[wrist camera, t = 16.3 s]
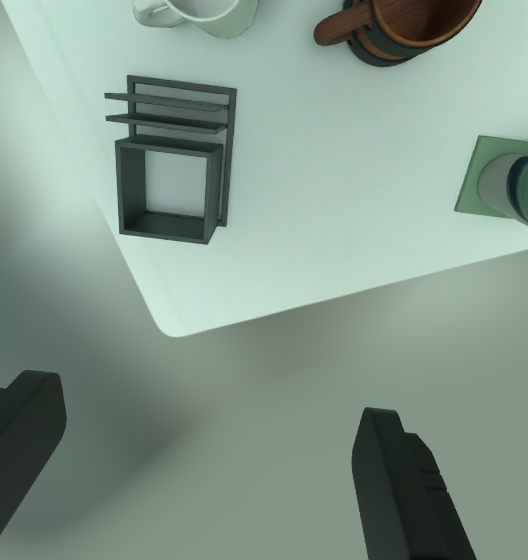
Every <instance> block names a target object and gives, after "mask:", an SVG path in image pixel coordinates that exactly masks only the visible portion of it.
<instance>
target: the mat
mask: <svg viewBox="0 0 528 560" xmlns="http://www.w3.org/2000/svg"><path fill="white" fill-rule="evenodd" d="M507 154H519V155H524V156H528V142H525V141H517V140H509V139H501V138H493V137H485V136H479V138H478V141H477V144H476V147H475V150H474V153H473V156H472V159H471V162H470V165H469V168H468V171H467V174H466V177H465V180H464V183H463V186H462V189H461V192H460V195H459V198H458V201H457V204H456V207H455V211H456V212H462V213H470V214H478V215H486V216H494V217H503V218H511V217H510V216H508V215H506V214H504V213H502V212H500V211H498V210H496V209H494V208H493V207H491V206H489V205H487V204H486V203H485V202H484V201H483V200H482V199H481V198H480V196H479V193H478V189H477V184H478V179H479V176H480V174H481V172H482V171H483V169H484V168H485V167H486V165H487V164H489V163H490V162H491V161H492V160H494V159H495V158H497V157H500V156H502V155H507ZM511 219H513V218H511Z"/></svg>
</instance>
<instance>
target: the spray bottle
mask: <svg viewBox="0 0 528 560" xmlns="http://www.w3.org/2000/svg"><path fill="white" fill-rule="evenodd" d="M477 189H478V193H479V196H480V198H481V199H482V200H483V201H484V202H485V203H486V204H487V205H489V206H491V207H493V208H494V209H496V210H498V211H500V212H502V213H504V214H506V215H508V216H510V217H511V218H513V219H515V220H517V221H519V222H521V223H523V224H525V225H527V226H528V156H524V155H519V154H507V155H502V156H500V157H497V158H495V159H494V160H492V161H491V162H490V163H489V164H487V165H486V167H485V168H484V169H483V171H482V172H481V174H480V176H479V179H478V184H477Z"/></svg>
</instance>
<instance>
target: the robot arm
mask: <svg viewBox="0 0 528 560" xmlns="http://www.w3.org/2000/svg"><path fill="white" fill-rule="evenodd" d="M66 421H67V417H66V410H65V403H64V397H63V391H62V385H61V379H60V376H59V375H58V374H57V373H51V372H43V371H33V370H25V371H23V372H22V373H21V374H20V375H19V376H18V377H17V378H16V379H15V380H14V381H13V382H12V383H11V384H10V385H9V386H8V387H7V388H6V389H3V388H0V535H1V533H2V532H3V530H4V528H5V527H6V525H7V524H8V522H9V521H10V519H11V517H12V516H13V514H14V513H15V511H16V510H17V508H18V507H19V505H20V503H21V502H22V500H23V499H24V497H25V495H26V494H27V492H28V491H29V489H30V487H31V486H32V485H33V483H34V481H35V480H36V478H37V477H38V475H39V474H40V472H41V471H42V469H43V467H44V466H45V464H46V463H47V461H48V460H49V458H50V456H51V455H52V453H53V452H54V450H55V448H56V447H57V445H58V444H59V442H60V440H61V439H62V436H63V434H64V431H65V427H66ZM352 474H353V479H354V484H355V490H356V495H357V500H358V505H359V511H360V517H361V521H362V527H363V532H364V538H365V543H366V548H367V554H368V559H369V560H477V559H476V557H475V554H474V552H473V549H472V547H471V545H470V542H469V540H468V538H467V535H466V533H465V530H464V528H463V526H462V523H461V521H460V518H459V516H458V514H457V511H456V509H455V507H454V504H453V502H452V499H451V497H450V495H449V493H447V488H446V485H445V483H444V480H443V478H442V476H441V475H440V471H439V468H438V466H437V464H436V461H435V459H434V457H433V454H432V452H431V451H430V449H429V448H428V447H427V446H426V445H425V444H424V442H423V441H422V440H421V439H420V438H419V436H418V435H417V434H415V433H405V432H404V429H403V427H402V424H401V421H400V418H399V416H398V413H397V412H396V411H395V410H388V409H378V408H369V407H366V408H365V409H364V411H363V414H362V418H361V421H360V425H359V428H358V432H357V435H356V439H355V442H354V446H353V451H352Z"/></svg>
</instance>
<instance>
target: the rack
mask: <svg viewBox="0 0 528 560" xmlns="http://www.w3.org/2000/svg"><path fill="white" fill-rule="evenodd" d="M135 83H141V84H149V85H157V86H165V87H172V88H180V89H188V90H196V91H204V92H212V93H220V94H228V95H230V98H229V106H228V105H222V104H214V103H206V102H199V101H191V100H183V99H175V98H167V97H159V96H151V95H143V94H135ZM127 90H128V94H127V93H104V94H105V98H108V99H116V100H124V101H128V114H119V115H110V116H106V121H112V122H120V123H128V124H129V137H127V138H124V139H120V140H116V141H115V153H116V173H117V194H118V215H119V234H124V235H132V236H140V237H148V238H157V239H165V240H173V241H181V242H190V243H198V244H206V245H208V243H209V241H210V239H211V237H212V235H213V233H214V231H215V229H216V227H217V226H223V227H226V224H227V211H228V197H229V184H230V171H231V157H232V144H233V131H234V117H235V104H236V91H237V89H233V88H225V87H217V86H209V85H201V84H193V83H185V82H178V81H170V80H162V79H154V78H146V77H138V76H130V75H127ZM135 102H140V103H148V104H156V105H164V106H172V107H179V108H187V109H195V110H203V111H211V112H219V111H223V110H228V107H229V113H228V128H227V124H224V123H216V122H208V121H200V120H192V119H184V118H176V117H168V116H160V115H152V114H144V113H135ZM136 125H144V126H152V127H160V128H168V129H176V130H184V131H192V132H200V133H208V134H217V133H219V132H220V131H222V130H224V129H226V128H227V142H226V157H225V171H224V186H223V200H222V215H221V220H218V216H219V200H220V185H221V170H222V154H223V144H216V143H208V142H200V141H192V140H184V139H176V138H168V137H159V136H151V135H143V134H139V135H136ZM145 150H149V151H157V152H165V153H173V154H182V155H190V156H198V157H206V158H207V173H206V193H205V214H204V218H201V217H192V216H184V215H176V214H168V213H160V212H152V211H146V197H145Z"/></svg>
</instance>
